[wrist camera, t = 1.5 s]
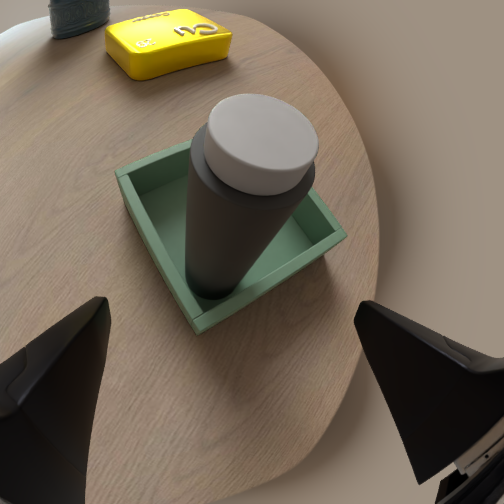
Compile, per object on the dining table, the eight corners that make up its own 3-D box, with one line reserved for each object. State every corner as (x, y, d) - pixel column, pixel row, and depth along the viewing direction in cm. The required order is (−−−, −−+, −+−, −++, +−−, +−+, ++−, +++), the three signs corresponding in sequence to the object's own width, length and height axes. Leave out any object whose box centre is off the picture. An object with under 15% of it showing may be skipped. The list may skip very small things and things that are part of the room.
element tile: (183, 27, 34) (186, 5, 30) (233, 58, 32) (239, 32, 28) (102, 49, 28) (101, 25, 24) (135, 85, 26) (134, 53, 22)
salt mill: (249, 282, 20) (357, 160, 7) (203, 310, 19) (245, 210, 6) (221, 238, 21) (278, 79, 8) (174, 263, 19) (168, 102, 6)
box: (323, 254, 23) (348, 235, 20) (197, 335, 18) (199, 332, 15) (245, 149, 26) (255, 119, 22) (123, 199, 21) (114, 170, 17)
